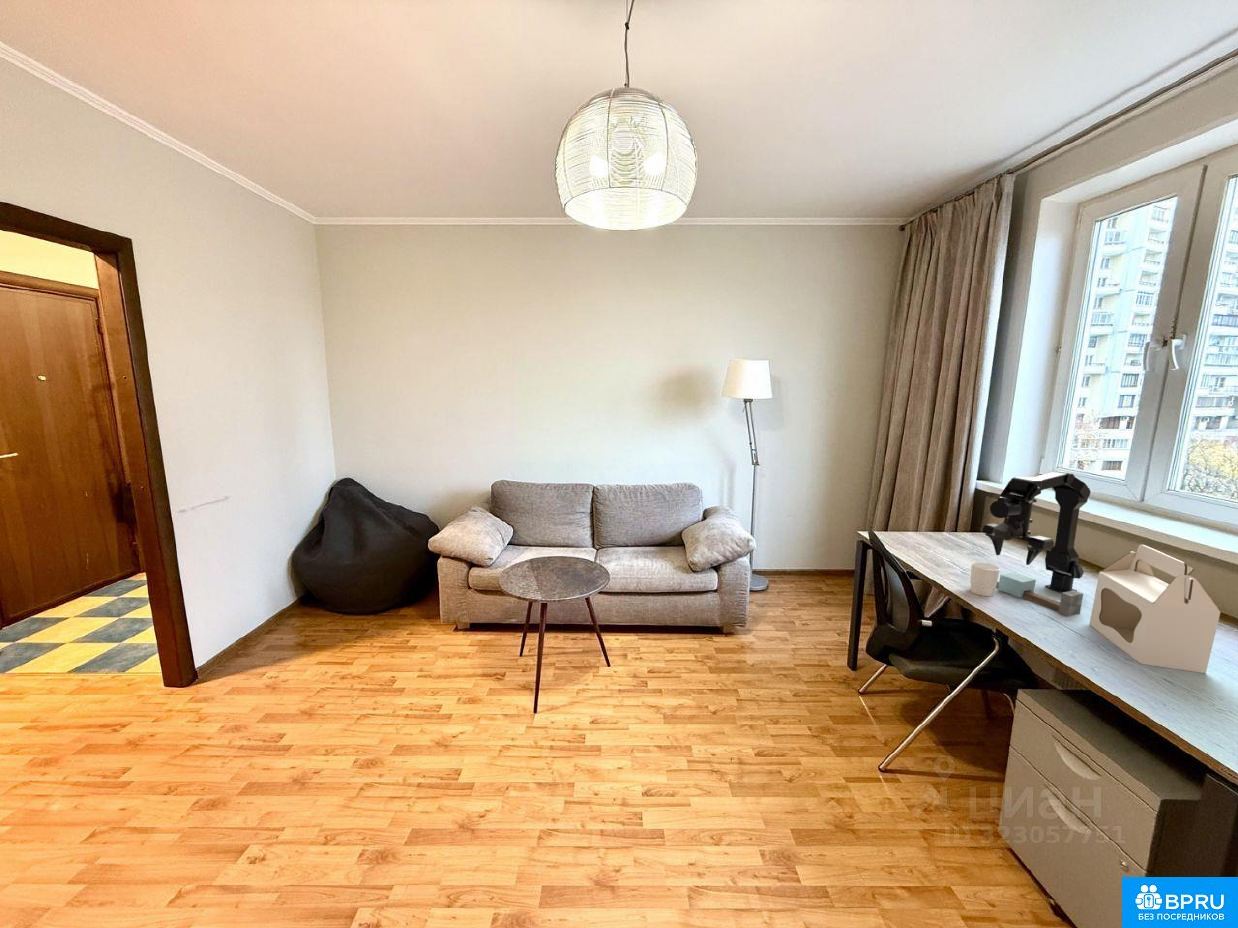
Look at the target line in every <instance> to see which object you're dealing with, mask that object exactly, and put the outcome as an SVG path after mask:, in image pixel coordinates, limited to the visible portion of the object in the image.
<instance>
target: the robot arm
mask: <svg viewBox="0 0 1238 928" xmlns="http://www.w3.org/2000/svg"><path fill="white" fill-rule="evenodd" d="M1048 489H1052V490H1053V491H1054V499H1055V501H1056V502H1057V504H1058V505H1059V511H1058V521H1057V526H1056V527H1057V529H1056V534H1055V535H1056V536H1055V542H1054V540H1053V538H1051V537H1045V536H1043V535H1036V536H1035V535H1033V536H1030V535H1031V534H1032V531H1030V530H1029V529H1030V524H1031V523H1033V519H1031V518H1032V509H1033V505H1034V503H1037V501H1038V500H1037V499H1035V497H1037V496H1039V495H1041V493H1042V491H1044V490H1048ZM1090 496H1091V489H1090V488H1089V486H1088V485H1087V483H1085V482H1084V481H1082V480H1081V479H1079V478H1078V477H1076V476H1075V475H1074V474H1073V473H1071V472H1067V471H1061V470H1055V471H1051V472H1049V473H1045V474H1041V475H1037V476H1033V477H1028V476H1027V477H1023V476H1015V477H1013V478H1011V479H1010V480H1009V481H1008V482H1007V484H1006V486H1005V487H1004V488H1003V490H1002V491H1001V493H1000V495H999V496H998V497H997V500H995V501H993V502H992V503H991V505H990V506H989V512H990V514H991V515H992V516H993V517H995V518H996V519H1003V521H1002V522H1001V523H999V524H998V523H997V524H996V523H987V524H984V525H983V526H982V527H981V533H984V534H985V536H987V537H988V538H989V539H990V541H991V542H992V545H993V548H994V551H995V554H996V556H1000V555H1001V553H1002V550H1003V544H1004V541H1011V540H1012V539H1013V538H1014V539H1017V540H1020V541H1025V542H1027V543H1028V545H1027V546H1026V548H1027V555H1026V561H1025V565H1026V566H1029V565H1031V564H1032V562H1033V561H1035V559H1036V557H1037V556H1038V555H1039V554H1040V553H1041V552H1042V551H1044V550H1046V552H1045V558H1044V566H1045V570H1046V571H1050V572H1052V573H1051V578H1050V584H1045V585H1044V587H1045V588H1048V589H1050V590H1053V591H1055V592H1059V593H1061V594H1062V593H1063V592H1068V591H1073V590H1074V591H1077V592H1078V590H1077V589H1075V588H1073V584H1074V581H1075V579H1078V580H1079V579H1080V580H1081V578H1082V577H1083V575H1084V573H1085V571H1084V569H1083V567H1082V566H1081V564H1080V563H1079V562H1080V557H1079V554H1078V552H1077V551H1076V550H1075V540H1076V534H1077V527H1078V520H1079V515H1080V508H1082V507H1083V506H1084V505H1085V504H1087V502H1088V499H1089V497H1090Z"/></svg>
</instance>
